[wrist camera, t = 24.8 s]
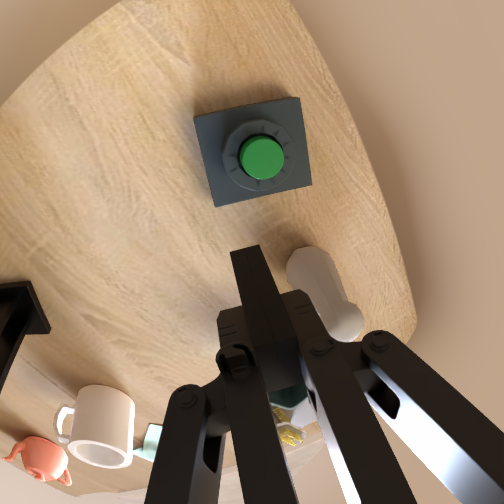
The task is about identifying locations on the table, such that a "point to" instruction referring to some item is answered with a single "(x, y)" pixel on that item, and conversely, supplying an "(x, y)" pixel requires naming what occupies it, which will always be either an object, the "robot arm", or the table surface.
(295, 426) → the platform
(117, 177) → the table surface
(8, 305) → the switch bracket
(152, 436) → the cloth
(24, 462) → the teapot
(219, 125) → the control block
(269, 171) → the button
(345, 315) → the salt shaker
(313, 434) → the table surface
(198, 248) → the table surface
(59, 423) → the mug
